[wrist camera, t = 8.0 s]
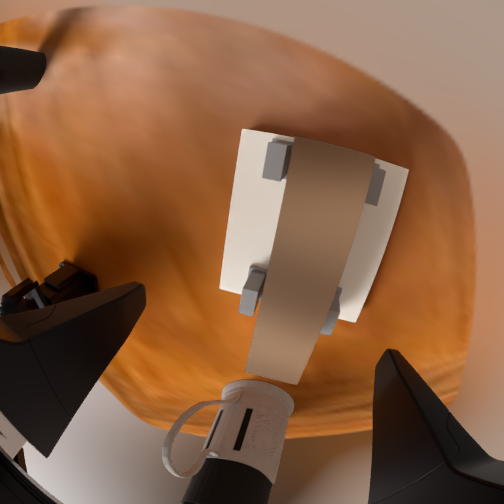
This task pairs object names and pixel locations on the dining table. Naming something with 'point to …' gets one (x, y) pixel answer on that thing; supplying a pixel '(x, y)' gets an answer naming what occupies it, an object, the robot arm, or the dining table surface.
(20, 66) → the drinking cup
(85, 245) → the dining table surface
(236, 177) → the side panel
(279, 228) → the door
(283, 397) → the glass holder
